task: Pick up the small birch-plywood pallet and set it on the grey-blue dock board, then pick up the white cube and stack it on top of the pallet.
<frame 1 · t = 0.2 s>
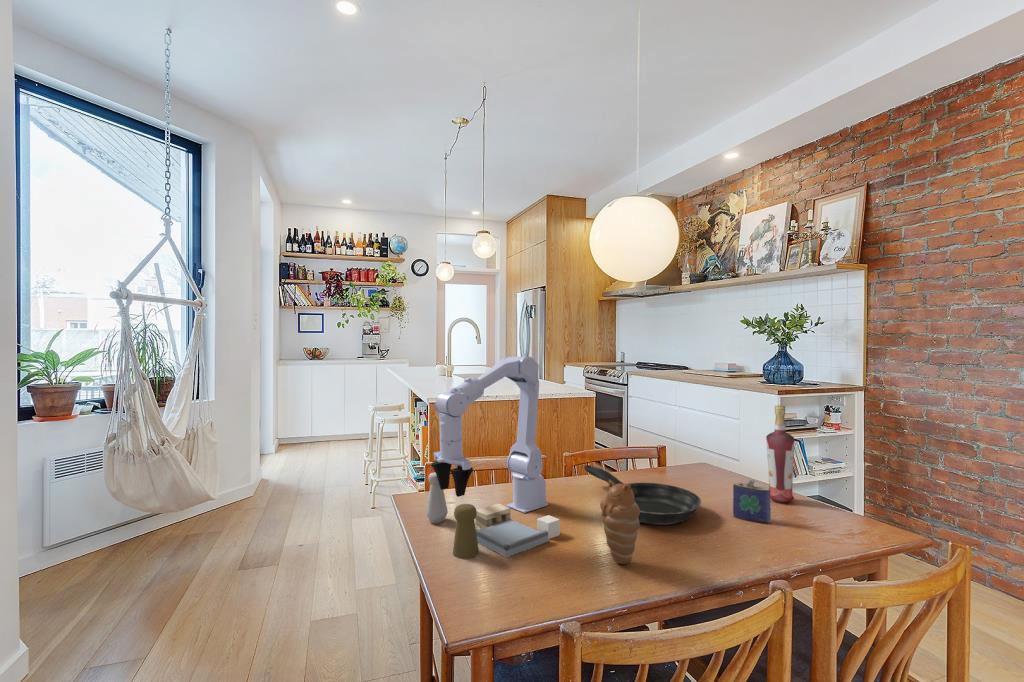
hand: (452, 492, 128), 10 cm above the table, tool pointing down, fingers open, 7 cm apart
white cube: (548, 535, 125), on the table
salt shaker: (437, 521, 135), on the table
pallet: (493, 524, 133), on the table
dock: (509, 540, 122), on the table
flask: (751, 520, 133), on the table
pepper shaker: (466, 553, 115), on the table
frying pan: (635, 507, 144), on the table
cat ice cream: (621, 564, 109), on the table
liquor: (780, 501, 147), on the table
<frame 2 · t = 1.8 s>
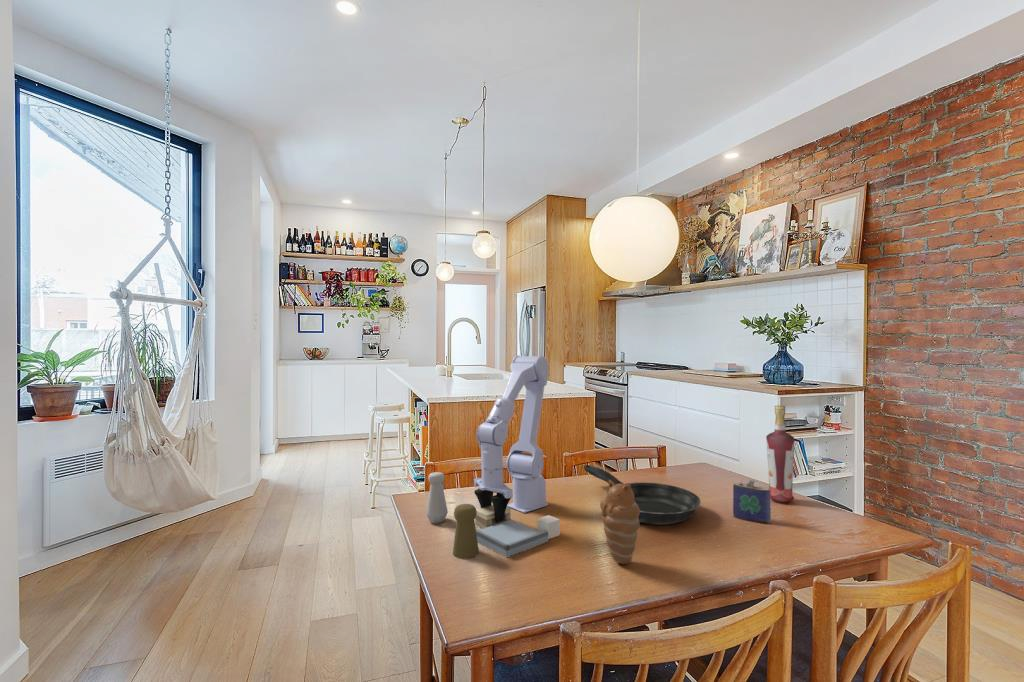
hand: (493, 518, 132), 1 cm above the table, tool pointing down, fingers closed on pallet, 5 cm apart
pallet: (493, 524, 133), on the table, touching gripper
everything else where it was.
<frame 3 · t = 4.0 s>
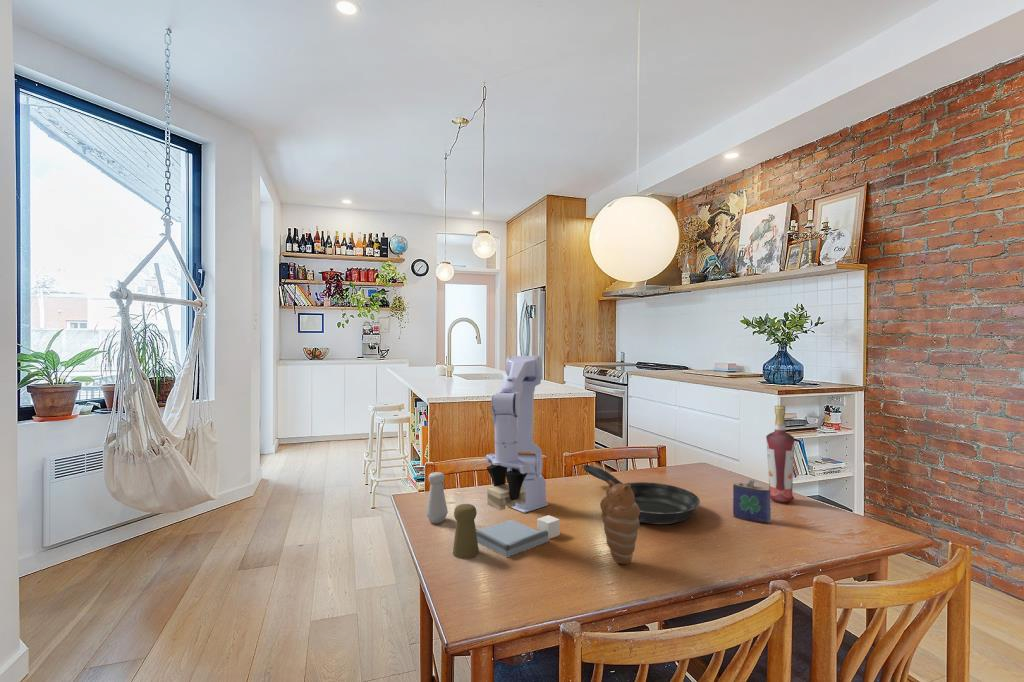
hand: (507, 496, 122), 10 cm above the table, tool pointing down, fingers closed on pallet, 5 cm apart
pallet: (506, 503, 122), point 9 cm above the table, touching gripper
everything else where it was.
when the fingers open (4 cm above the table, at t = 5.9 s): pallet stays where it is, resting on dock.
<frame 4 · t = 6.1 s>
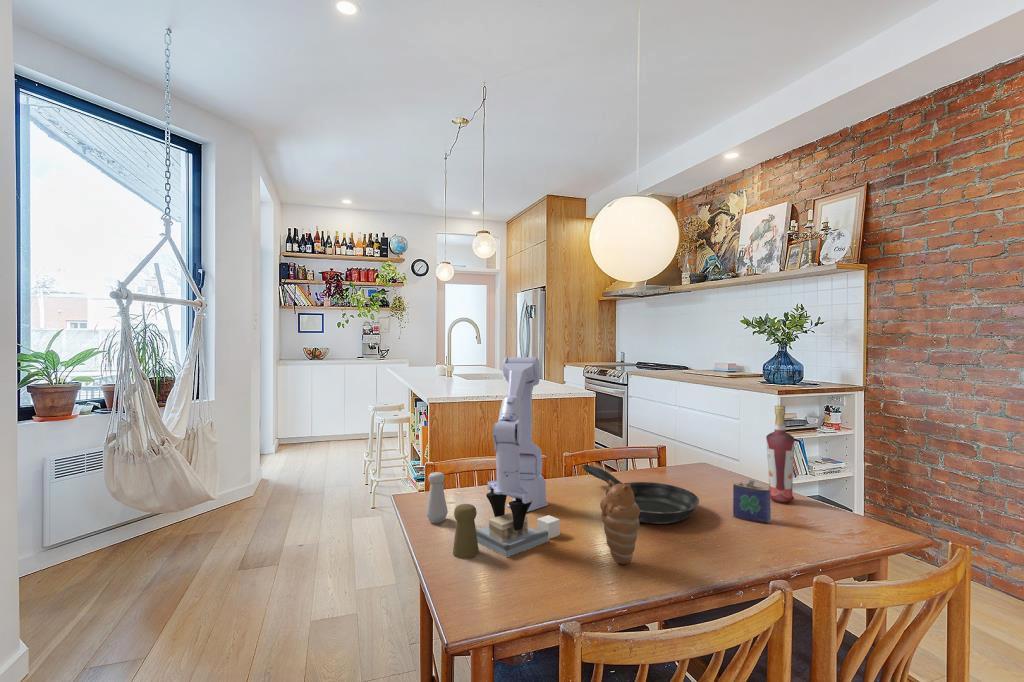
hand: (508, 525, 122), 4 cm above the table, tool pointing down, fingers open, 7 cm apart
pallet: (508, 534, 122), point 1 cm above the table, touching dock
everything else where it was.
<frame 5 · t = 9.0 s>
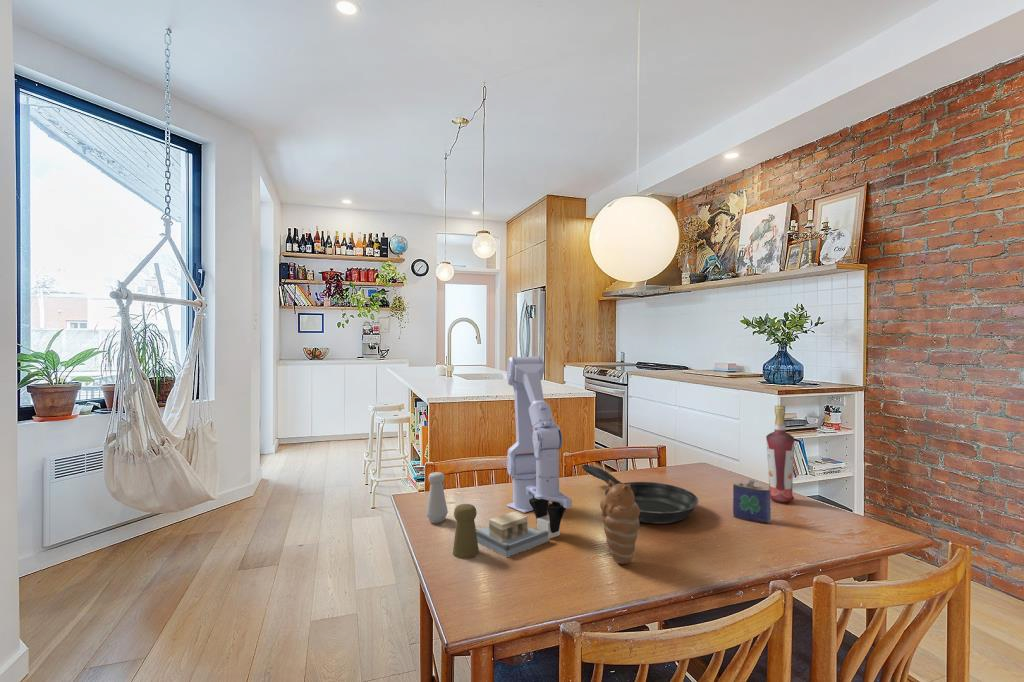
hand: (548, 528, 125), 1 cm above the table, tool pointing down, fingers closed on white cube, 4 cm apart
white cube: (548, 534, 125), on the table, touching gripper
everything else where it was.
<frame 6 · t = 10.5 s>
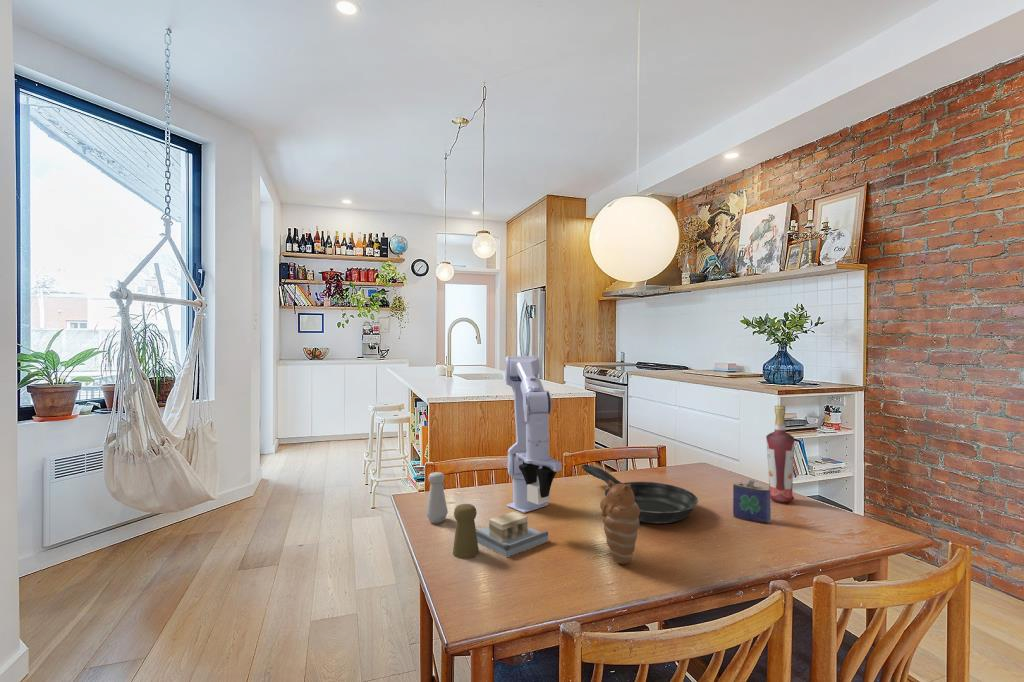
hand: (538, 494, 124), 10 cm above the table, tool pointing down, fingers closed on white cube, 4 cm apart
white cube: (538, 500, 124), point 9 cm above the table, touching gripper
when the fingers open (8 cm above the table, at t = 11.9 s): white cube stays where it is, resting on pallet.
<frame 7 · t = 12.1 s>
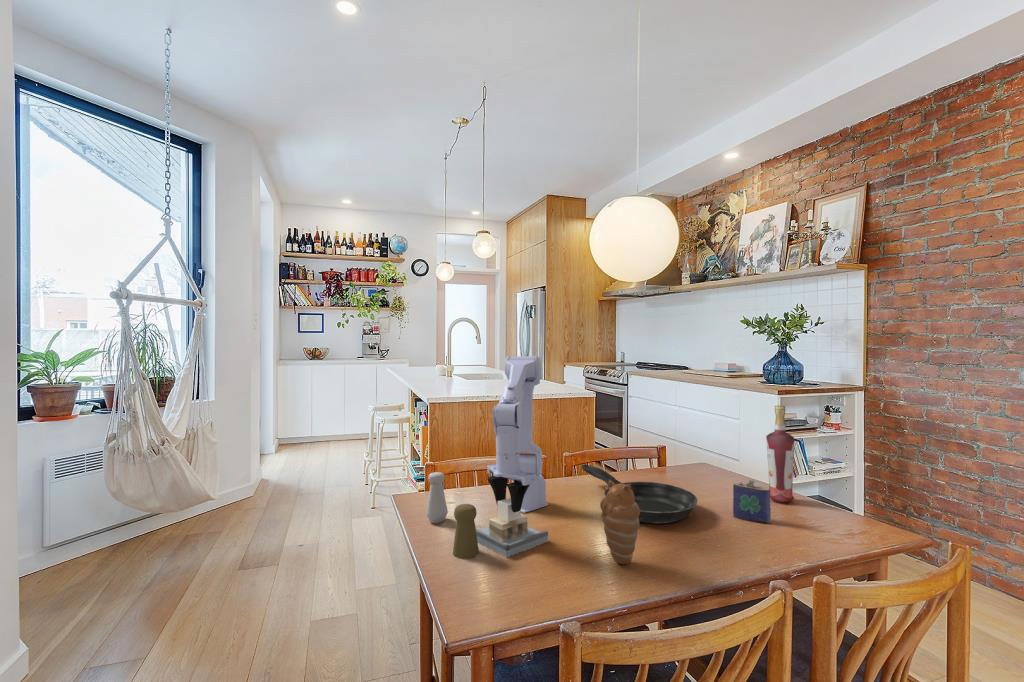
hand: (508, 507, 122), 8 cm above the table, tool pointing down, fingers open, 5 cm apart
white cube: (509, 517, 122), point 5 cm above the table, touching pallet
pallet: (508, 534, 122), point 1 cm above the table, touching white cube, dock
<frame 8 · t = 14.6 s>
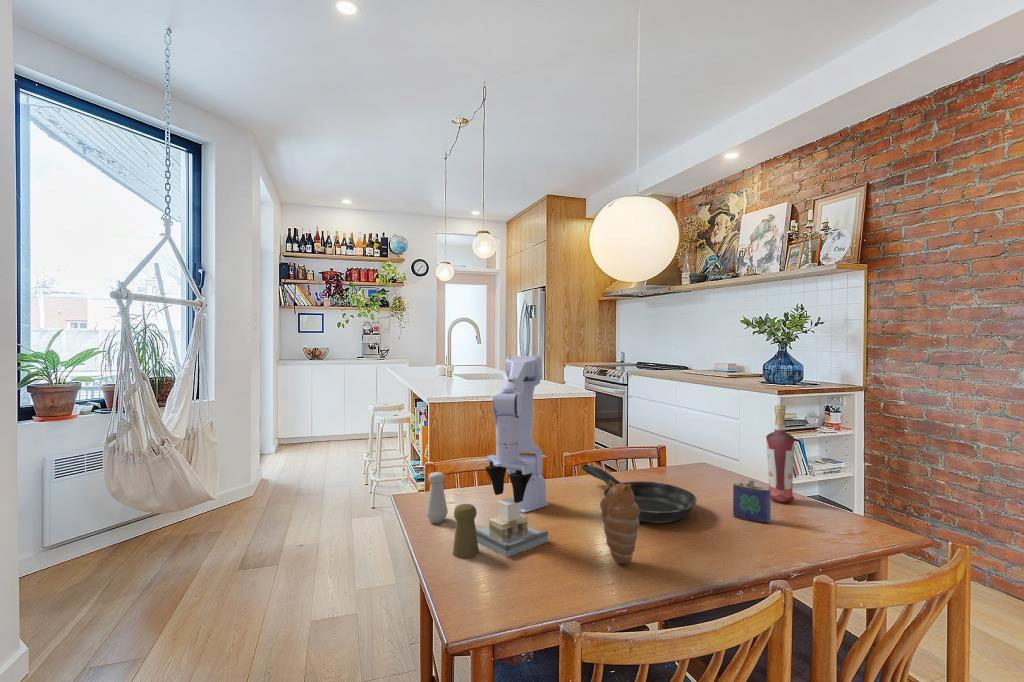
hand: (508, 497, 122), 10 cm above the table, tool pointing down, fingers open, 7 cm apart
at the end: pallet inside the target area on the dock (0.2 cm from its centre), point 1.5 cm above the dock's base; white cube 0.3 cm off-centre on the pallet, point 4.0 cm above the pallet's base; white cube tilted 0° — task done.
